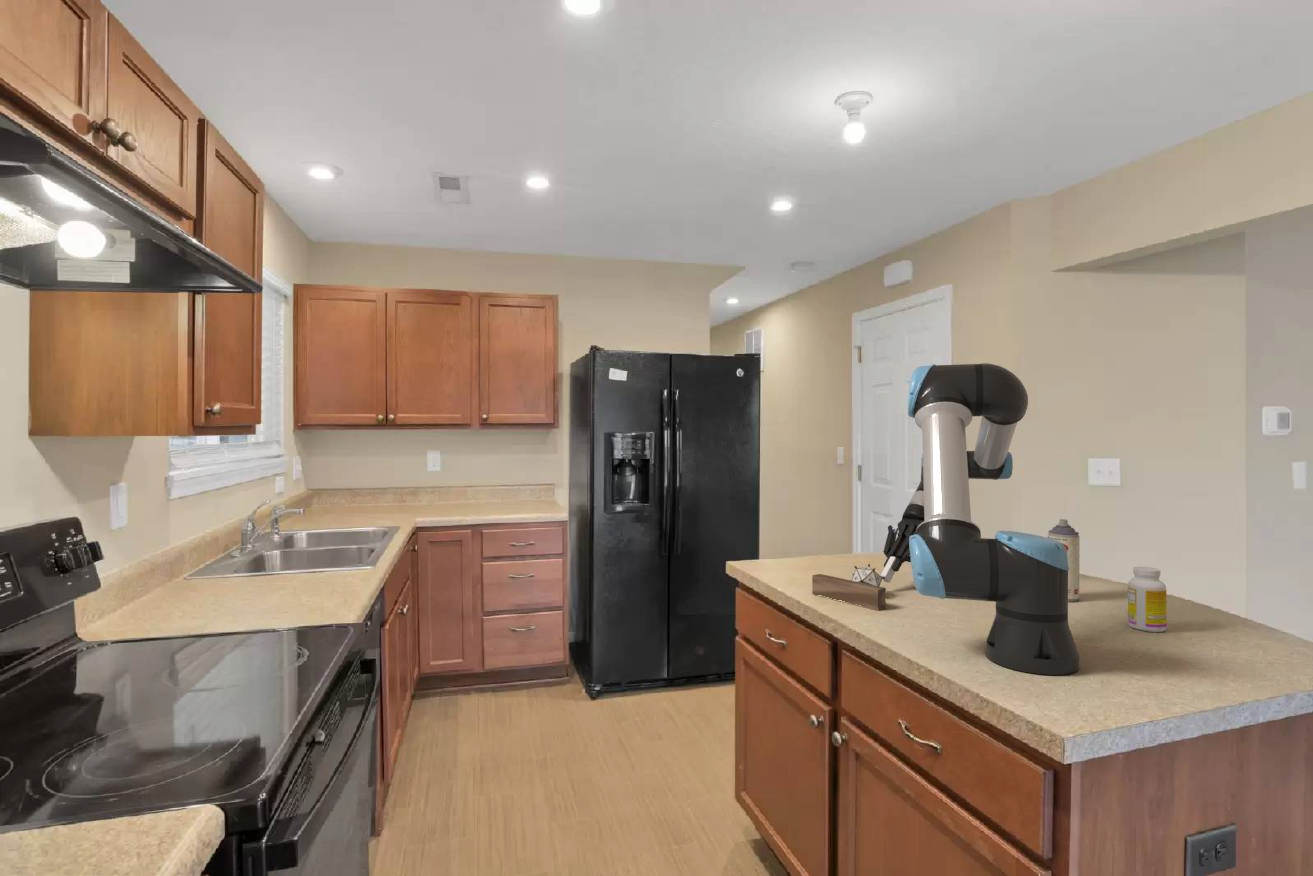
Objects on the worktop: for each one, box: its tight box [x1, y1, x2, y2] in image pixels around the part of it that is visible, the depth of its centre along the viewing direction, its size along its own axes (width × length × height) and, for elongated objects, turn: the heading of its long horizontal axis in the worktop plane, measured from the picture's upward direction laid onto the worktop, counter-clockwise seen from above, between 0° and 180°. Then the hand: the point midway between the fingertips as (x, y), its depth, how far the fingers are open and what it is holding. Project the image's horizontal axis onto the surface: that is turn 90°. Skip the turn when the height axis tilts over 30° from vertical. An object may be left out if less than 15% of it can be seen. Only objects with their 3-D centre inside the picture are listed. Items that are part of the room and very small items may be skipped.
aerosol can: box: [1047, 518, 1080, 603], centre depth 168 cm, size 7×7×20 cm
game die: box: [851, 563, 885, 587], centre depth 172 cm, size 9×8×10 cm
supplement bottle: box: [1127, 566, 1168, 633], centre depth 143 cm, size 7×7×13 cm
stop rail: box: [811, 573, 887, 611], centre depth 167 cm, size 3×20×5 cm, turn 36°
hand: (885, 579), depth 176 cm, fingers closed
